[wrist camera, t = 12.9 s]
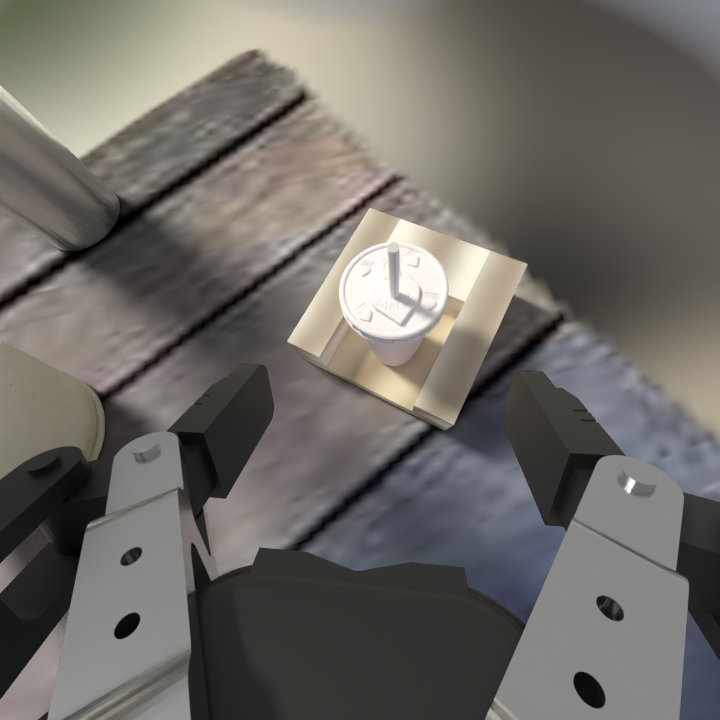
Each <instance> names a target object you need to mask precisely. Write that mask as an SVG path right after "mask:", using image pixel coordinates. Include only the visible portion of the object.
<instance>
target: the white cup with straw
mask: <svg viewBox="0 0 720 720" xmlns="http://www.w3.org/2000/svg"><path fill="white" fill-rule="evenodd" d="M448 294H449V284H448V278H447V275H446V273H445V270H444V268H443V267H442V265H441V264H440V262H439V261H438V260H437V259H436V258H435V257H434V256H433V255H432V254H431V253H429V252H428V251H426V250H425V249H423V248H421V247H419V246H416V245H413V244H409V243H404V242H388V243H382V244H378V245H375V246H372V247H370V248H368V249H366V250H364V251H363V252H361V253H360V254H358V255H357V256H356V257H355V258H354V259H353V260H352V261H351V262H350V263H349V265H348V266H347V267H346V269H345V271H344V273H343V275H342V277H341V281H340V285H339V299H340V305H341V308H342V312H343V315H344V317H345V319H346V321H347V322H348V324H349V325H350V327H351V328H352V329H353V330H354V331H356V332H357V333H358V334H359V335H360V336H362V337H363V338H364V339H365V341H366V342H367V344H368V345H369V347H370V348H371V350H372V351H373V353H374V354H375V356H376V357H377V359H378V360H379V361H381V362H382V363H384V364H386V365H389V366H400V365H403V364H405V363H407V362H408V361H410V360H411V359H412V357H413V356H414V354H415V352H416V351H417V349H418V347H419V346H420V344H421V342H422V341H423V339H424V337H425V335H426V334H428V333H430V331H431V330H432V329H433V328H434V327H435V326H436V325H437V324H438V323H439V322H440V320H441V318H442V316H443V314H444V312H445V310H446V305H447V300H448Z"/></svg>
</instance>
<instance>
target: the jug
mask: <svg viewBox="0 0 720 720" xmlns="http://www.w3.org/2000/svg"><path fill="white" fill-rule="evenodd" d="M104 436H105V416H104V410H103V406H102V403H101V401H100V399H99V397H98V396H97V395H96V393H95V392H94V391H93V390H92V389H91V388H90V387H89V386H88V385H86V384H85V383H83V382H81V381H79V380H77V379H75V378H74V377H72V376H70V375H68V374H67V373H65V372H62V371H60V370H58V369H56V368H54V367H52V366H50V365H48V364H46V363H44V362H42V361H40V360H39V359H37V358H35V357H33V356H31V355H29V354H27V353H25V352H23V351H21V350H19V349H17V348H15V347H13V346H11V345H8V344H6V343H4V342H2V341H0V479H2V478H3V477H4V476H6V475H7V474H8V473H10V472H11V471H12V470H14V469H15V468H16V467H18V466H19V465H21V464H22V463H23V462H25V461H27V460H28V459H30V458H32V457H34V456H36V455H38V454H40V453H43V452H45V451H48V450H51V449H55V448H59V447H65V446H75V447H78V448H80V449H81V451H82V452H83V454H84V456H85V457H86V459H87V461H93V460H97V458H98V456H99V454H100V451H101V449H102V445H103V441H104Z"/></svg>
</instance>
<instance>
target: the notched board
mask: <svg viewBox="0 0 720 720" xmlns="http://www.w3.org/2000/svg"><path fill="white" fill-rule="evenodd" d="M388 242H404V243H409V244H413V245H416V246H419V247H421V248H423V249H425V250H426V251H428V252H429V253H431V254H432V255H433V256H434V257H435V258H436V259H437V260H438V261H439V262H440V264H441V265H442V267H443V268H444V270H445V273H446V275H447V278H448V284H449V294H448V300H447V305H446V310H445V312H444V314H443V316H442V318H441V320H440V322H439V323H438V324H437V325H436V326H435V327H434V328H433V329H432V330H431V331H430V333H428V334H426V335H425V337H424V339H423V341H422V342H421V344H420V346H419V347H418V349H417V351H416V352H415V354H414V356H413V357H412V359H411V360H410V361H408V362H407V363H405V364H403V365H400V366H389V365H386V364H384V363H382V362H381V361H379V360H378V359H377V357H376V356H375V354H374V353H373V351H372V350H371V348H370V347H369V345H368V344H367V342H366V341H365V339H364V338H363V337H362V336H360V335H359V334H358V333H357V332H356V331H354V330H353V329H352V328H351V327H350V325H349V324H348V322H347V321H346V319H345V317H344V315H343V312H342V308H341V305H340V299H339V285H340V281H341V277H342V275H343V273H344V271H345V269H346V267H347V266H348V265H349V263H350V262H351V261H352V260H353V259H354V258H355V257H356V256H357V255H358V254H360V253H361V252H363V251H364V250H366V249H368V248H370V247H372V246H375V245H378V244H382V243H388ZM526 266H527V264H526V263H523V262H520V261H517V260H515V259H511V258H509V257H506V256H503V255H501V254H498V253H495V252H492V251H489V250H486V249H484V248H481V247H478V246H475V245H472V244H470V243H467V242H464V241H461V240H458V239H455V238H453V237H450V236H447V235H444V234H441V233H439V232H436V231H433V230H430V229H427V228H424V227H422V226H419V225H416V224H413V223H410V222H408V221H405V220H402V219H399V218H396V217H394V216H391V215H388V214H385V213H382V212H379V211H377V210H374V209H371V208H369V210H368V212H367V213H366V215H365V216H364V218H363V220H362V221H361V223H360V225H359V226H358V228H357V229H356V231H355V233H354V234H353V236H352V237H351V239H350V241H349V242H348V244H347V246H346V247H345V249H344V250H343V252H342V254H341V255H340V257H339V258H338V260H337V262H336V263H335V265H334V266H333V268H332V270H331V271H330V273H329V275H328V276H327V278H326V279H325V281H324V283H323V284H322V286H321V287H320V289H319V291H318V292H317V294H316V296H315V297H314V299H313V300H312V302H311V304H310V305H309V307H308V308H307V310H306V312H305V313H304V315H303V317H302V318H301V320H300V321H299V323H298V325H297V326H296V328H295V329H294V331H293V333H292V334H291V336H290V338H289V339H288V341H287V342H288V343H289V344H290V345H291V346H292V347H293V348H294V349H295V350H296V352H297V353H298V354H299V355H300V356H301V357H302V358H303V359H305V360H307V361H309V362H311V363H313V364H315V365H317V366H319V367H321V368H322V369H324V370H326V371H328V372H330V373H332V374H334V375H336V376H338V377H340V378H342V379H344V380H346V381H348V382H350V383H352V384H354V385H356V386H358V387H360V388H362V389H364V390H366V391H368V392H370V393H371V394H373V395H375V396H377V397H379V398H381V399H383V400H385V401H387V402H389V403H391V404H393V405H395V406H397V407H399V408H401V409H403V410H405V411H407V412H409V413H411V414H413V415H415V416H417V417H419V418H421V419H422V420H424V421H426V422H428V423H430V424H432V425H434V426H436V427H438V428H440V429H442V430H444V431H445V430H447V429H448V428H450V427H452V426H453V425H454V423H455V421H456V419H457V417H458V415H459V412H460V410H461V408H462V406H463V404H464V402H465V399H466V397H467V395H468V393H469V391H470V388H471V386H472V384H473V382H474V380H475V378H476V375H477V373H478V371H479V369H480V367H481V365H482V362H483V360H484V358H485V356H486V354H487V351H488V349H489V347H490V345H491V343H492V341H493V338H494V336H495V334H496V332H497V330H498V327H499V325H500V323H501V321H502V319H503V317H504V314H505V312H506V310H507V308H508V306H509V303H510V301H511V299H512V297H513V295H514V293H515V290H516V288H517V286H518V284H519V282H520V280H521V277H522V275H523V273H524V271H525V269H526Z"/></svg>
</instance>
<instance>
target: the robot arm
mask: <svg viewBox="0 0 720 720" xmlns="http://www.w3.org/2000/svg"><path fill="white" fill-rule="evenodd" d="M119 212H120V203H119V199H118V197H117V196H116V194H115V193H114V192H113V191H112V190H110V189H109V188H108V187H107V186H106V185H105V184H104V183H103V182H102V181H101V180H100V179H99V178H98V177H97V176H96V175H95V174H93V173H92V172H91V171H90V170H89V169H88V168H87V167H86V166H85V165H84V164H83V163H82V162H81V161H80V160H79V159H78V158H77V157H76V156H75V155H74V154H73V153H71V152H70V151H69V150H68V149H67V148H66V147H65V146H64V145H63V144H62V143H61V142H60V141H59V140H58V139H57V138H56V137H55V136H53V135H52V134H51V133H50V132H49V131H48V130H47V129H46V128H45V127H44V126H43V125H42V124H41V123H39V121H38V120H36V119H35V118H34V117H33V116H32V115H31V114H30V113H29V112H28V111H27V110H26V109H25V108H24V107H23V106H22V105H21V104H20V103H18V102H17V101H16V100H15V99H14V98H13V97H12V96H11V95H10V94H9V93H8V92H7V91H6V90H4V88H2V86H0V213H2V214H3V215H5V216H6V217H8V218H10V219H11V220H13V221H14V222H16V223H17V224H19V225H20V226H22V227H24V228H25V229H27V230H28V231H30V232H32V233H33V234H35V235H37V236H38V237H40V238H41V239H43V240H45V241H46V242H48V243H49V244H51V245H53V246H54V247H56V248H58V249H60V250H64V251H78V250H82V249H85V248H88V247H90V246H92V245H94V244H96V243H97V242H99V241H100V240H101V239H103V238H104V237H105V236H106V235H107V234H108V233H109V232H110V231H111V229H112V228H113V226H114V225H115V223H116V221H117V219H118V216H119ZM273 411H274V403H273V398H272V393H271V388H270V383H269V378H268V373H267V369H266V367H265V366H264V365H262V364H240V365H239V366H238V367H237V368H236V369H235V370H234V371H233V372H232V373H231V374H230V375H229V376H228V378H224V379H222V380H221V381H219V382H217V383H215V384H214V385H212V386H211V387H210V388H209V389H208V390H207V391H206V392H205V393H204V394H203V395H202V397H200V398H199V399H198V400H197V401H196V402H195V403H194V405H192V406H191V407H190V408H189V409H188V410H187V411H186V412H185V413H184V414H183V415H182V416H181V417H180V418H179V419H178V420H177V421H176V422H175V423H174V424H173V425H172V426H171V427H170V428H169V429H168V430H167V431H166V432H163V431H162V432H154V433H150V434H147V435H144V436H141V437H139V438H137V439H135V440H133V441H131V442H130V443H128V444H127V445H125V446H124V447H123V448H122V449H121V450H120V451H119V452H118V453H117V454H116V456H115V457H110V458H105V459H99V460H93V461H87V459H86V457H85V456H84V454H83V452H82V451H81V449H80V448H78V447H75V446H65V447H59V448H55V449H51V450H48V451H45V452H43V453H40V454H38V455H36V456H34V457H32V458H30V459H28V460H27V461H25V462H23V463H22V464H21V465H19V466H18V467H16V468H15V469H14V470H12V471H11V472H10V473H8V474H7V475H6V476H4V477H3V478H2V479H0V563H1V562H2V561H3V560H4V559H5V558H6V557H7V556H8V555H9V554H10V553H11V552H12V551H13V550H14V549H15V548H16V547H17V546H18V545H19V544H20V543H21V542H22V541H23V540H24V539H26V538H27V537H28V536H29V535H30V534H31V533H32V532H33V531H34V530H35V529H36V528H37V527H39V529H40V530H41V531H42V533H43V534H44V535H45V536H46V538H47V539H48V540H49V543H48V544H47V545H46V546H45V547H44V548H43V549H42V550H41V551H40V552H39V553H38V554H37V556H36V557H35V558H34V559H33V560H32V561H31V562H30V563H29V564H28V565H27V566H26V567H25V568H24V569H23V570H22V571H21V572H20V573H19V574H18V575H17V577H16V578H15V579H14V580H13V581H12V582H11V583H10V584H9V585H8V586H7V587H6V588H5V589H4V590H3V591H2V592H1V593H0V699H1V698H2V697H3V695H4V694H5V693H6V691H7V690H8V689H9V687H10V686H11V685H12V683H13V682H14V681H15V679H16V678H17V677H18V675H19V674H20V673H21V671H22V670H23V669H24V667H25V666H26V665H27V663H28V662H29V661H30V659H31V658H32V657H33V655H34V654H35V653H36V651H37V650H38V649H39V647H40V646H41V645H42V643H43V642H44V641H45V639H46V638H47V637H48V635H49V634H50V633H51V631H52V630H53V629H54V627H55V626H56V625H57V623H58V622H59V621H60V619H61V618H62V617H63V616H64V614H65V613H66V612H67V610H68V609H69V608H70V609H69V614H68V619H67V624H66V629H65V634H64V639H63V644H62V649H61V654H60V659H59V664H58V669H57V674H56V679H55V684H54V689H53V694H52V699H51V703H50V708H49V711H48V712H47V713H46V714H44V715H43V716H42V717H41V718H40V719H38V720H679V715H680V702H681V689H682V675H683V662H684V649H685V636H686V623H687V610H688V611H689V612H690V614H691V615H692V617H693V619H694V620H695V622H696V623H697V625H698V627H699V628H700V630H701V631H702V633H703V635H704V636H705V638H706V640H707V641H708V643H709V644H710V646H711V648H712V649H713V651H714V652H715V654H716V656H717V657H718V659H719V660H720V502H717V501H713V500H709V499H706V498H702V497H698V496H694V495H691V494H687V493H684V492H682V490H681V488H680V487H679V485H678V484H677V483H676V482H675V481H674V480H673V479H672V478H671V477H670V476H668V475H667V474H666V473H664V472H663V471H661V470H660V469H658V468H656V467H654V466H653V465H651V464H648V463H646V462H644V461H641V460H638V459H635V458H632V457H627V456H626V455H625V454H624V453H623V452H622V451H621V449H620V448H619V447H618V446H617V445H616V443H615V442H614V441H613V440H612V439H611V437H610V436H609V435H608V434H607V433H606V431H605V430H604V429H603V428H602V427H601V425H600V424H599V423H597V422H596V420H595V418H594V417H593V416H592V415H591V414H590V412H587V409H586V408H585V406H584V405H583V404H582V403H581V402H580V400H579V399H578V398H577V397H575V396H573V395H572V394H570V393H569V392H567V391H566V390H564V389H563V388H556V387H555V386H554V385H553V384H552V382H551V381H550V380H549V378H548V377H547V376H546V374H545V373H544V372H542V371H515V372H514V373H513V375H512V379H511V383H510V388H509V393H508V398H507V403H506V408H505V413H504V424H505V430H506V433H507V435H508V438H509V440H510V442H511V445H512V447H513V450H514V452H515V454H516V457H517V459H518V461H519V464H520V466H521V469H522V471H523V473H524V476H525V478H526V480H527V483H528V485H529V488H530V490H531V492H532V495H533V497H534V499H535V502H536V504H537V507H538V509H539V511H540V514H541V516H542V518H543V521H544V523H545V525H549V526H561V527H564V528H565V530H566V534H565V537H564V539H563V541H562V544H561V546H560V548H559V550H558V553H557V555H556V557H555V560H554V562H553V564H552V567H551V569H550V571H549V574H548V576H547V578H546V581H545V583H544V585H543V587H542V590H541V592H540V594H539V597H538V599H537V601H536V604H535V606H534V608H533V611H532V613H531V615H530V617H529V620H528V622H527V624H526V625H525V624H524V623H523V622H522V621H521V620H520V619H519V618H518V617H516V616H515V615H514V614H513V613H511V612H510V611H509V610H508V609H506V608H505V607H504V606H503V605H501V604H499V603H498V602H496V601H495V600H493V599H492V598H490V597H488V596H487V595H485V594H483V593H481V592H479V591H477V590H475V589H472V588H470V587H467V581H466V575H465V568H463V567H452V566H442V565H432V564H422V563H412V562H410V563H405V564H399V565H393V566H387V567H381V568H375V569H369V570H364V571H353V570H350V569H348V568H345V567H343V566H340V565H338V564H335V563H333V562H330V561H328V560H325V559H323V558H320V557H318V556H315V555H313V554H310V553H308V552H300V551H290V550H280V549H270V548H259V550H258V553H257V555H256V558H255V560H254V563H253V565H249V566H245V567H242V568H238V569H235V570H233V571H230V572H228V573H226V574H223V575H221V576H218V572H217V568H216V563H215V557H214V551H213V546H212V540H211V535H210V529H209V523H208V518H207V512H206V509H205V507H204V505H205V503H206V501H207V500H208V498H209V497H213V498H226V497H227V495H228V494H229V492H230V490H231V489H232V487H233V485H234V483H235V482H236V480H237V478H238V477H239V475H240V473H241V471H242V470H243V468H244V466H245V465H246V463H247V461H248V459H249V458H250V456H251V454H252V453H253V451H254V449H255V447H256V446H257V444H258V442H259V441H260V439H261V437H262V435H263V434H264V432H265V430H266V428H267V427H268V425H269V423H270V422H271V420H272V417H273Z"/></svg>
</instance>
